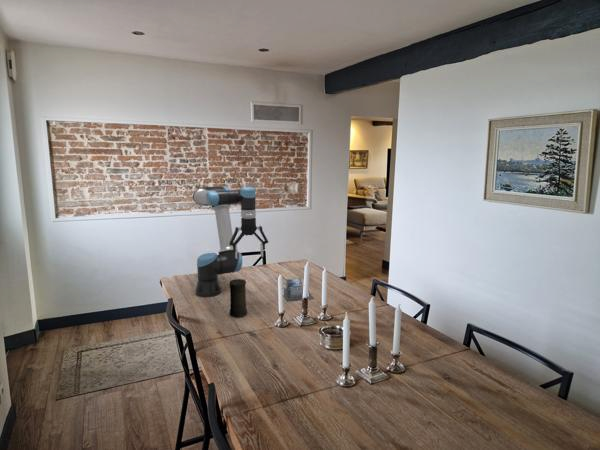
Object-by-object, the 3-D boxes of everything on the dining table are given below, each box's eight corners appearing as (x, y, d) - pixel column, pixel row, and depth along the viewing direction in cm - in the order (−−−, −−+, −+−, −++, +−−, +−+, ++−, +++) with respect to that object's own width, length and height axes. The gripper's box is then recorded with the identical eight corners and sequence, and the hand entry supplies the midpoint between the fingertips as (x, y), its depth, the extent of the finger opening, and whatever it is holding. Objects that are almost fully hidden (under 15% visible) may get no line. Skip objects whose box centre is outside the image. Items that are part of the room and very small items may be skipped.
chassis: (279, 289, 241) (279, 277, 240) (304, 287, 245) (304, 275, 244) (287, 301, 222) (286, 289, 221) (313, 298, 227) (314, 286, 225)
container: (248, 311, 209) (248, 278, 205) (244, 318, 200) (244, 284, 197) (232, 310, 210) (231, 278, 206) (227, 317, 201) (226, 284, 198)
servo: (290, 291, 237) (290, 277, 236) (297, 290, 239) (297, 276, 237) (294, 296, 229) (294, 281, 227) (301, 295, 230) (301, 281, 228)
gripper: (224, 219, 197) (226, 260, 201) (273, 217, 204) (273, 257, 208) (223, 217, 204) (224, 256, 208) (270, 215, 211) (270, 253, 215)
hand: (249, 257), depth 208 cm, fingers open, 13 cm apart
